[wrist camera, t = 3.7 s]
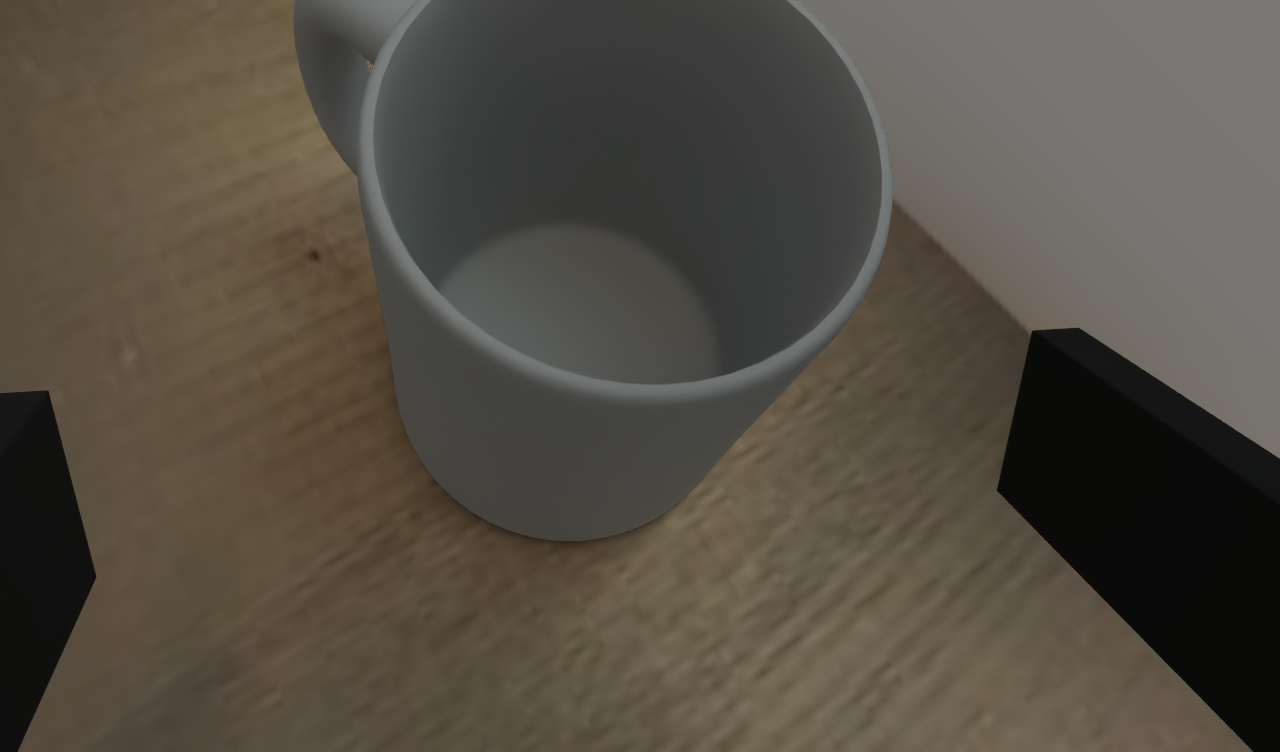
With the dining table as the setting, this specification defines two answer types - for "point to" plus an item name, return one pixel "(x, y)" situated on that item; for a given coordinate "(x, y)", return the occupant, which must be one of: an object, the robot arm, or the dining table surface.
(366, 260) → the dining table surface
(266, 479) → the dining table surface
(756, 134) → the mug
